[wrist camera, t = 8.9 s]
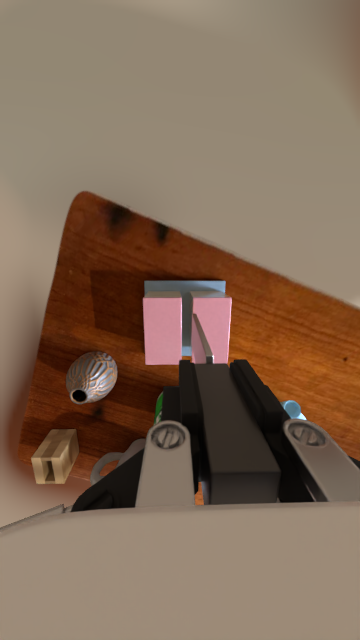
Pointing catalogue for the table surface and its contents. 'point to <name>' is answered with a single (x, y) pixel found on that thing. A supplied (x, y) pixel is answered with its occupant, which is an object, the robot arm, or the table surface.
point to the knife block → (55, 456)
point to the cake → (184, 319)
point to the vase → (91, 377)
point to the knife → (230, 436)
